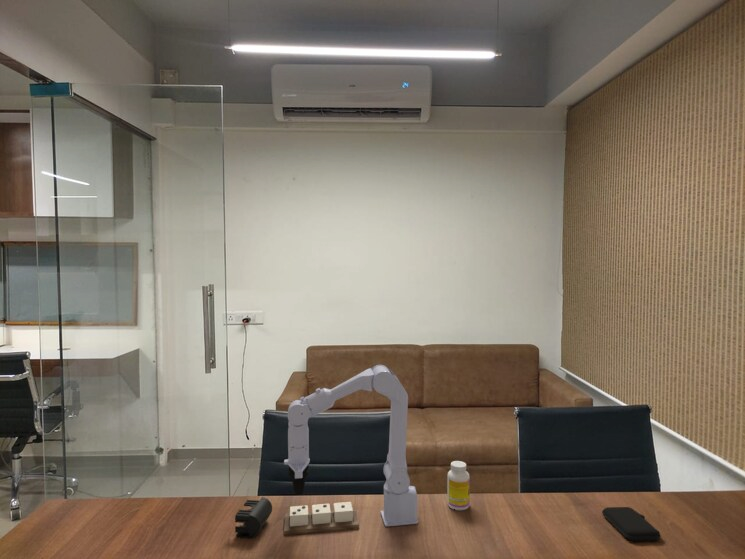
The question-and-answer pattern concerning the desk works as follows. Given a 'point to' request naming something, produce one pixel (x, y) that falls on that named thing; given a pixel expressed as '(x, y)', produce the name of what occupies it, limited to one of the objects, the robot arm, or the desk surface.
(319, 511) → the tile two
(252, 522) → the end cap
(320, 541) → the desk surface
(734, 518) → the desk surface
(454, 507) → the supplement bottle
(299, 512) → the tile three
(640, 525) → the black rounded phone case
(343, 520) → the tile one
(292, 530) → the tile tray
